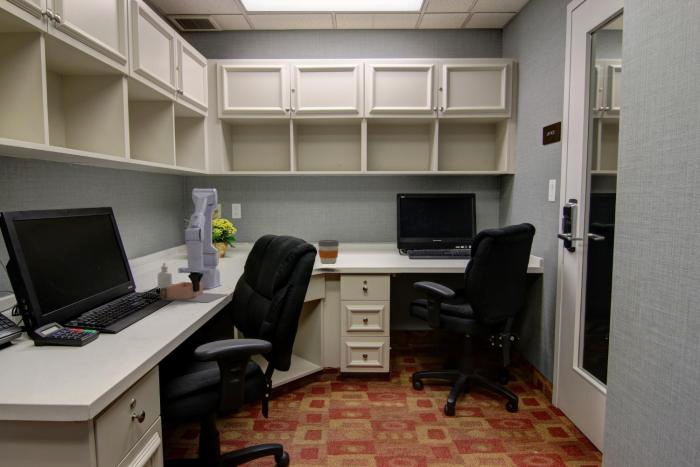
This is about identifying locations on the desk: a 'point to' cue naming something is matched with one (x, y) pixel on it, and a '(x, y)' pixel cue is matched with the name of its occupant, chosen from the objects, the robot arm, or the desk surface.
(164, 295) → the end wall
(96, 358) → the desk surface
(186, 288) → the socket block
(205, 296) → the mat
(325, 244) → the reusable coffee cup
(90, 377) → the desk surface
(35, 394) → the desk surface
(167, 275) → the eye dropper bottle
